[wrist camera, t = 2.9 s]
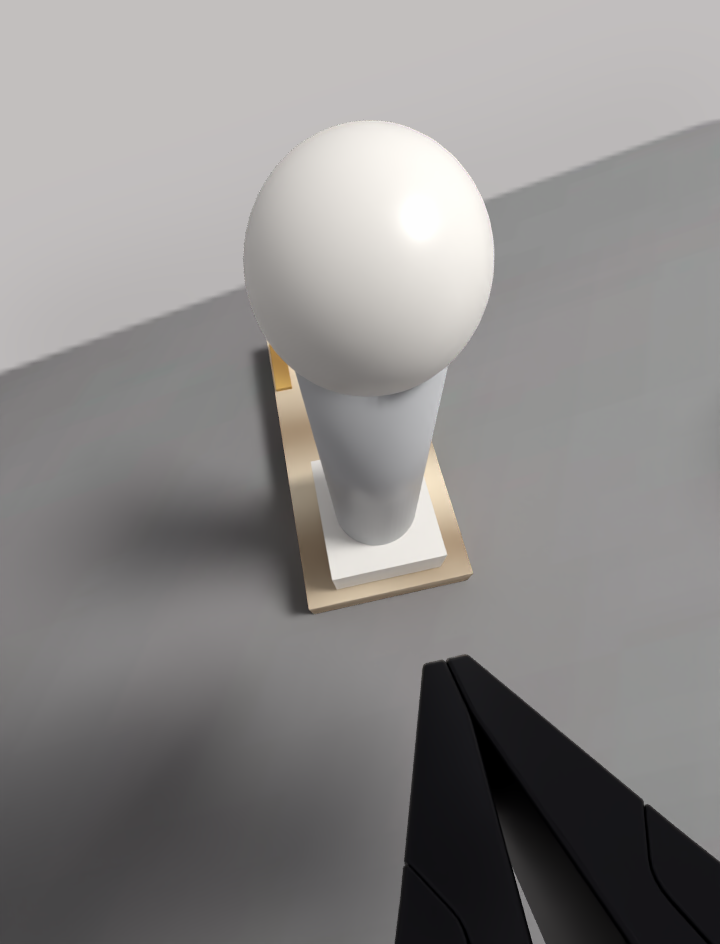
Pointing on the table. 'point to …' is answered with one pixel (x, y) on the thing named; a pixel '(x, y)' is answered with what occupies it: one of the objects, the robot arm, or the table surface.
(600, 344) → the table surface
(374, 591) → the fader track
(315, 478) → the lever
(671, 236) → the table surface
